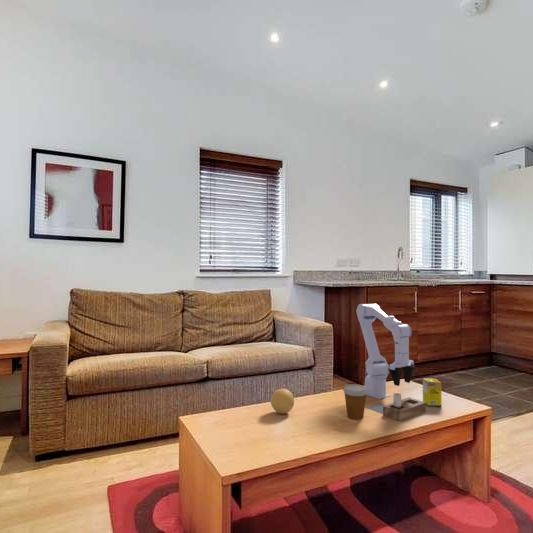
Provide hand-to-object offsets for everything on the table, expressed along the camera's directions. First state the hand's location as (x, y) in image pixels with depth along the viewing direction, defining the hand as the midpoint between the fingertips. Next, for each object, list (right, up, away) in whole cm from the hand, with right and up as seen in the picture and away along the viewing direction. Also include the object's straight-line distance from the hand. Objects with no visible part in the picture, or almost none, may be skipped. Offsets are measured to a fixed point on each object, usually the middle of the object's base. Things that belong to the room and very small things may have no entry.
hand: (402, 383), depth 163 cm
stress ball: (-52, -11, -6) cm, 53 cm away
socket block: (-2, -10, -7) cm, 13 cm away
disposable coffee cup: (-23, -11, -10) cm, 27 cm away
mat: (-10, -10, -1) cm, 14 cm away
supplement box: (+14, -11, +3) cm, 18 cm away
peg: (-6, -10, -10) cm, 15 cm away
